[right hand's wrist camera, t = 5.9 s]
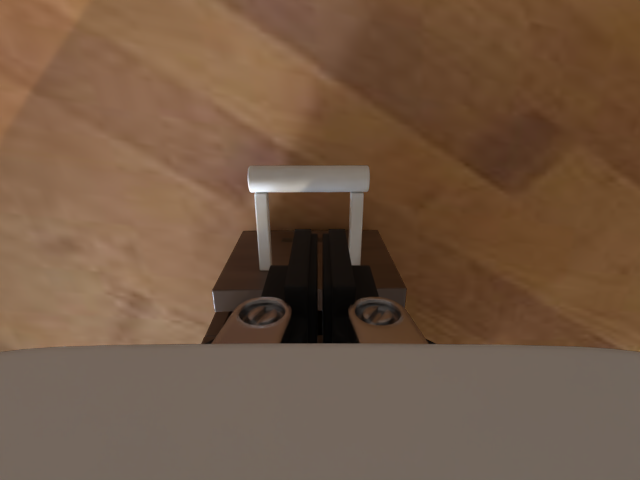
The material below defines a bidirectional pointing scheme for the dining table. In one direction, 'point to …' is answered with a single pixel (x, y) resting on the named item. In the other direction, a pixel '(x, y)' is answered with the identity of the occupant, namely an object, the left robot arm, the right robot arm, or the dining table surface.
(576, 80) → the dining table surface
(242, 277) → the drawer
